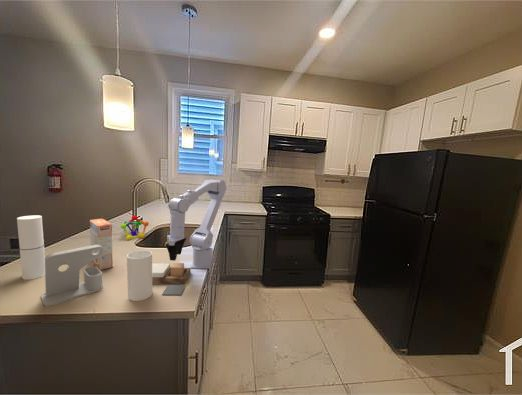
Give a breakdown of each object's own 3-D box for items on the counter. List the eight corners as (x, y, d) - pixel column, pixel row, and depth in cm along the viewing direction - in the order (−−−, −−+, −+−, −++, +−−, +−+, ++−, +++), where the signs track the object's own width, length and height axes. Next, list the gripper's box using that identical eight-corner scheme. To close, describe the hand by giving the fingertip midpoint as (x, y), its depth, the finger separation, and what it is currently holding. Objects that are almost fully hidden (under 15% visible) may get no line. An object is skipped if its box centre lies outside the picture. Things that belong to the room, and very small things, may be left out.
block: (184, 275, 104) (184, 263, 103) (181, 280, 99) (181, 267, 98) (173, 275, 103) (173, 262, 103) (170, 280, 99) (170, 267, 98)
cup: (134, 288, 91) (133, 249, 89) (155, 288, 92) (155, 250, 90) (123, 301, 83) (122, 258, 81) (147, 301, 84) (146, 258, 82)
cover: (170, 267, 105) (170, 263, 105) (163, 277, 96) (163, 272, 96) (149, 267, 104) (149, 263, 104) (140, 277, 95) (140, 272, 95)
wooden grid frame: (190, 272, 107) (190, 267, 106) (185, 284, 97) (185, 278, 96) (150, 272, 105) (150, 267, 105) (140, 283, 95) (140, 277, 95)
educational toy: (140, 234, 160) (142, 213, 159) (148, 239, 152) (150, 216, 150) (115, 236, 149) (117, 213, 148) (122, 242, 140) (124, 217, 139)
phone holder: (97, 279, 97) (95, 237, 94) (105, 288, 90) (103, 244, 88) (40, 295, 84) (36, 248, 81) (45, 308, 77) (40, 256, 75)
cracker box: (113, 267, 108) (112, 223, 105) (98, 271, 104) (96, 225, 101) (105, 258, 117) (103, 217, 115) (90, 261, 113) (88, 219, 110)
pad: (185, 285, 95) (185, 284, 95) (180, 295, 88) (180, 294, 88) (167, 285, 95) (167, 284, 95) (162, 295, 88) (162, 294, 88)
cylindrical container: (19, 281, 92) (13, 219, 89) (26, 273, 99) (21, 215, 95) (42, 277, 96) (38, 218, 92) (48, 270, 102) (44, 214, 98)
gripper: (173, 222, 106) (171, 251, 107) (161, 229, 91) (160, 262, 92) (188, 223, 106) (186, 252, 107) (180, 230, 92) (178, 263, 93)
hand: (175, 257), depth 100 cm, fingers open, 7 cm apart
